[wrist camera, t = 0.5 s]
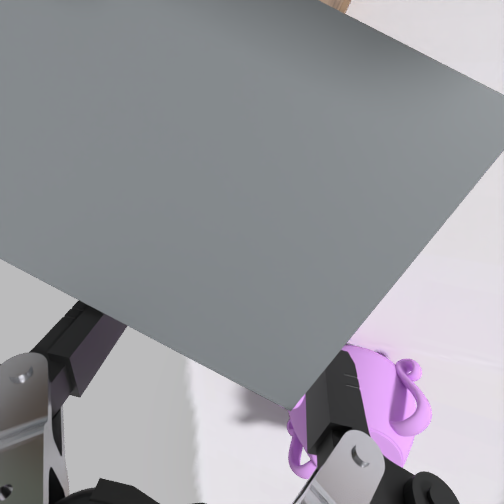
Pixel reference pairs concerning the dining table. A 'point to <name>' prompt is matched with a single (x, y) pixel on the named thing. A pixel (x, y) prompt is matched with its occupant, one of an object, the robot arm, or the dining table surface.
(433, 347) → the dining table surface
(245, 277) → the grey stand
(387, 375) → the teapot
